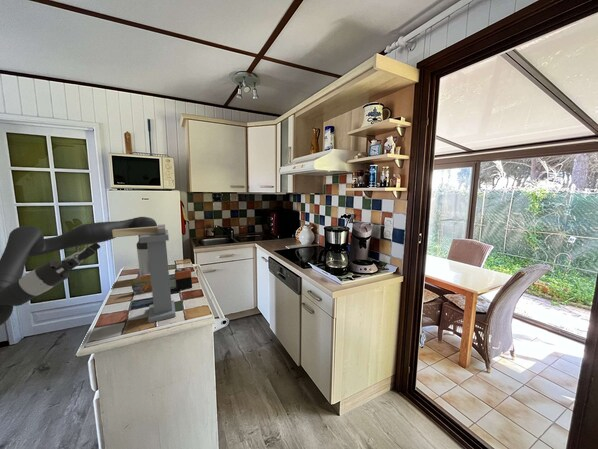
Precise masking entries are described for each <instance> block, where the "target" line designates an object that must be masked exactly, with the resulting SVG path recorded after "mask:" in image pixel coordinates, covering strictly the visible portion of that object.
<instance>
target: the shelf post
mask: <svg viewBox="0 0 598 449" xmlns="http://www.w3.org/2000/svg"><path fill="white" fill-rule="evenodd" d="M165 231H166V235H158V234H148V235H140V237H139V236H138V241H140V243H147V248H148V257H149V267H150V277H151V286H152V292H151V293H152V294H151V296H152V302H153V303H152V304H149V305H148V306H149V308H148V313H147V314H148V315H147V317H148V318H147V322H148V324H150V323H155V322H159V321H163V320H168V319H172V318H176V317H177V316H176V306H175V300H174V299H173V300H172V296H171V294H172V293H171V284H170V283H171V282H170V272H169V262H168V261H169V260H168V250H167V241H168V242H169V240H170V239H169V230H168V229H165Z"/></svg>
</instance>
